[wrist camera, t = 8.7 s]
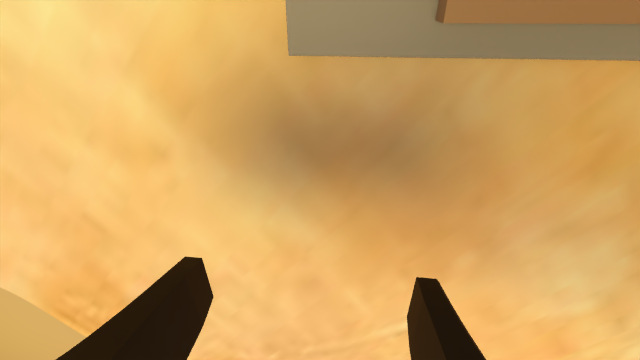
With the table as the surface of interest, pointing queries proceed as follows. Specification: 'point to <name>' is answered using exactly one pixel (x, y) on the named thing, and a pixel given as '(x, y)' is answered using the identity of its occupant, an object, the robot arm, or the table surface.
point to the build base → (466, 29)
